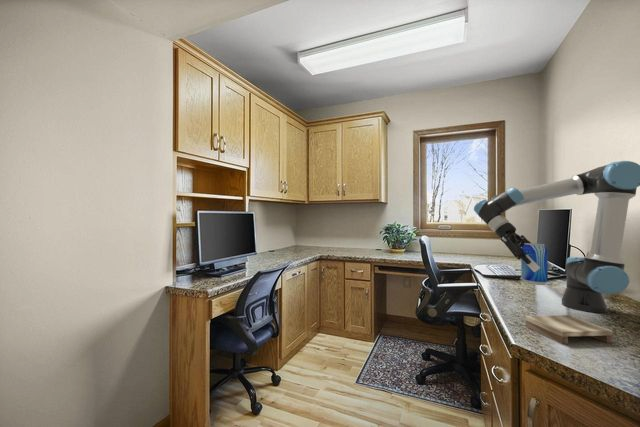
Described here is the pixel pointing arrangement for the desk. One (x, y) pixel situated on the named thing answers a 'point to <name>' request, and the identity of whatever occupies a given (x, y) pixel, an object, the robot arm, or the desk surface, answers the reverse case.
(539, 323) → the shelf stand
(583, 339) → the desk surface
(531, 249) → the beer can
